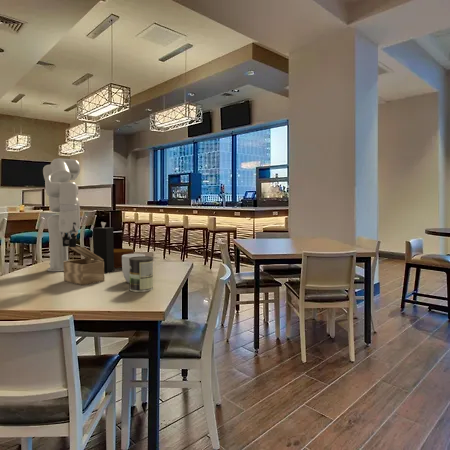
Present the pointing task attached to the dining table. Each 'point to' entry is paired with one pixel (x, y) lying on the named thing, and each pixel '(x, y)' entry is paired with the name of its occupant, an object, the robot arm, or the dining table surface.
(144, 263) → the coffee can
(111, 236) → the tissue box
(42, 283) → the dining table surface
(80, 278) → the carton
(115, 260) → the brown block
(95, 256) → the flap
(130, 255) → the mug
